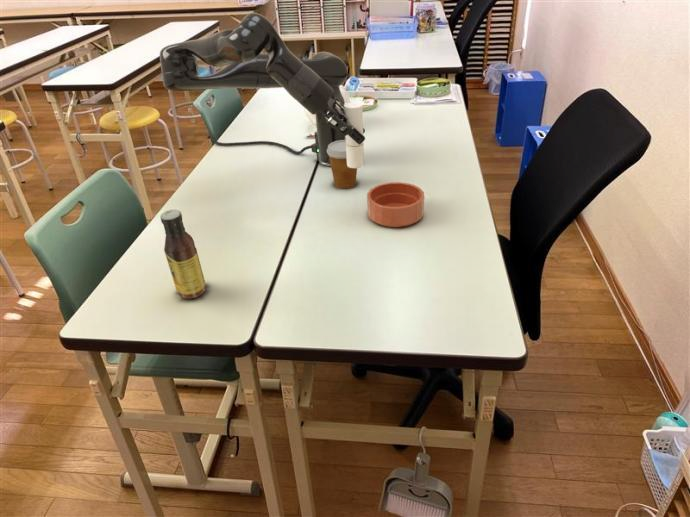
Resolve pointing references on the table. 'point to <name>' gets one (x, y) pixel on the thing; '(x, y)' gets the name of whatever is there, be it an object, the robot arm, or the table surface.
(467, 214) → the table surface
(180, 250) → the sauce bottle
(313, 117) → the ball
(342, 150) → the disposable coffee cup
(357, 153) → the tube
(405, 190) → the bowl
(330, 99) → the robot arm
